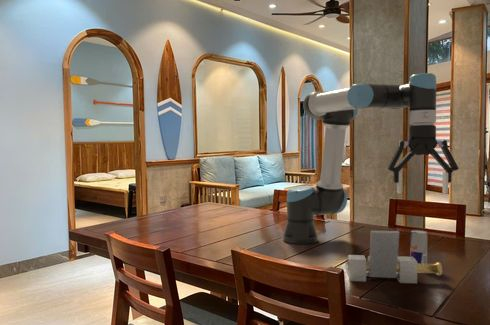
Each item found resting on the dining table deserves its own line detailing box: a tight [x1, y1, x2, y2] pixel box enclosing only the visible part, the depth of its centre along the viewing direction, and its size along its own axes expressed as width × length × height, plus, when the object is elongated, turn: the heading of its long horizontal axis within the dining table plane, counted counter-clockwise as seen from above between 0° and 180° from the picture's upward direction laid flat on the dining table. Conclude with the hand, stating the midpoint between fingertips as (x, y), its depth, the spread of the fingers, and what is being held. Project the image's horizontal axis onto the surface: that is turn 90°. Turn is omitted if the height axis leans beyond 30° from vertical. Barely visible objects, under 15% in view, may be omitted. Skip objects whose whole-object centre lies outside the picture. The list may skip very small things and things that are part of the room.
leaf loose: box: [366, 230, 400, 279], centre depth 125 cm, size 8×16×5 cm
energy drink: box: [409, 229, 428, 264], centre depth 140 cm, size 5×5×12 cm
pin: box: [366, 261, 443, 276], centre depth 126 cm, size 22×4×4 cm, turn 81°
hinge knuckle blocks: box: [345, 254, 418, 284], centre depth 130 cm, size 20×12×7 cm, turn 81°
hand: (422, 193), depth 126 cm, fingers open, 13 cm apart
